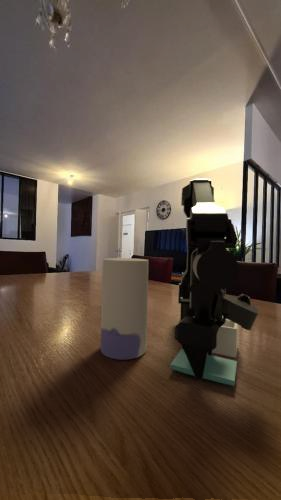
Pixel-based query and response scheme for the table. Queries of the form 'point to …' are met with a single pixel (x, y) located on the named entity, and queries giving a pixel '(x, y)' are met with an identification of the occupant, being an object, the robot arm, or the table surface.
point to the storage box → (227, 339)
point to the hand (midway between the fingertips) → (204, 365)
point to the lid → (208, 368)
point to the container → (124, 307)
